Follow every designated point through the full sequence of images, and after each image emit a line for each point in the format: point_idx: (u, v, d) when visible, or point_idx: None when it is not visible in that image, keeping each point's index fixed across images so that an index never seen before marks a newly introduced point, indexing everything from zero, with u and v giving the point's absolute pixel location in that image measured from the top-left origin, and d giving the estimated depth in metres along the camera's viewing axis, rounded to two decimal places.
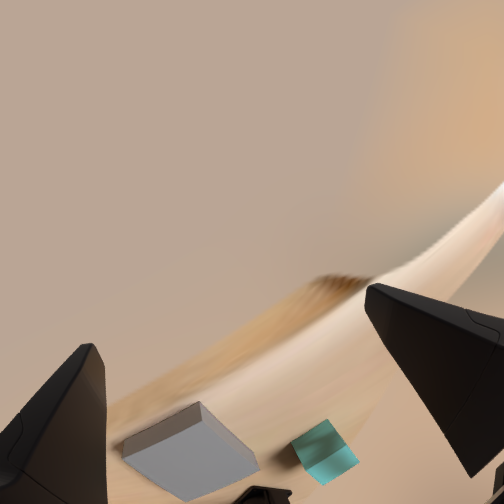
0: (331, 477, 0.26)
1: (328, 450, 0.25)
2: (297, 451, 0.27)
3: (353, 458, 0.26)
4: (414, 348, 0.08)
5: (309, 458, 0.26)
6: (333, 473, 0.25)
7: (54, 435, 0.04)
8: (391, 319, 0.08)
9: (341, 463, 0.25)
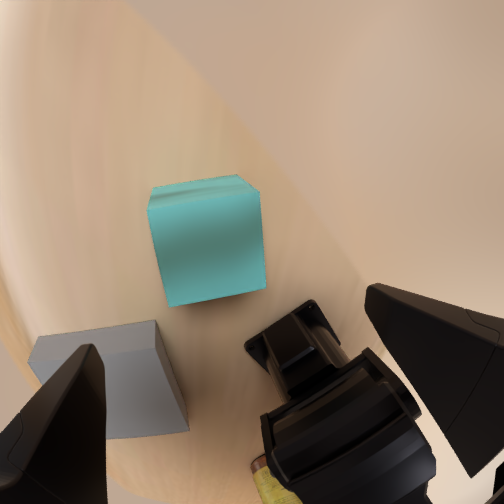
0: (250, 266, 0.15)
1: None
2: None
3: (224, 204, 0.13)
4: (414, 348, 0.08)
5: None
6: (236, 259, 0.14)
7: (54, 435, 0.04)
8: (391, 319, 0.08)
9: (214, 235, 0.14)
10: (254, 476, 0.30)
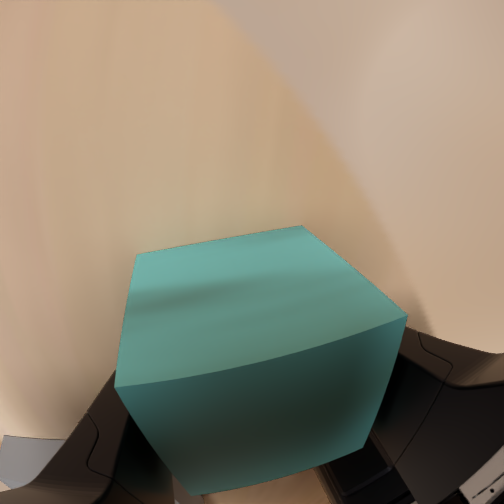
0: (348, 434, 0.06)
1: None
2: None
3: (329, 357, 0.05)
4: None
5: None
6: (327, 433, 0.06)
7: (134, 433, 0.05)
8: None
9: (292, 413, 0.05)
10: None
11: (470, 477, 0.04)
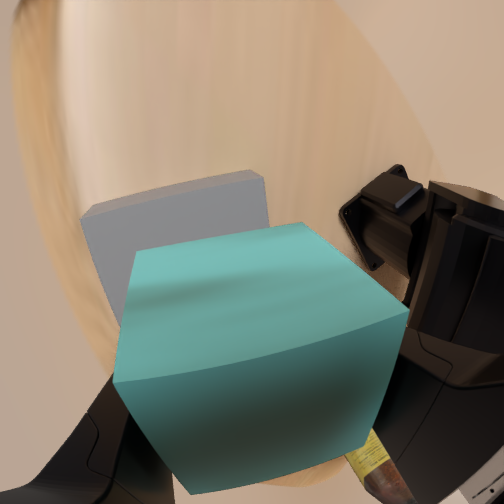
0: (349, 432, 0.06)
1: None
2: None
3: (330, 353, 0.05)
4: None
5: None
6: (329, 431, 0.06)
7: (135, 433, 0.05)
8: None
9: (293, 410, 0.05)
10: None
11: (470, 477, 0.04)
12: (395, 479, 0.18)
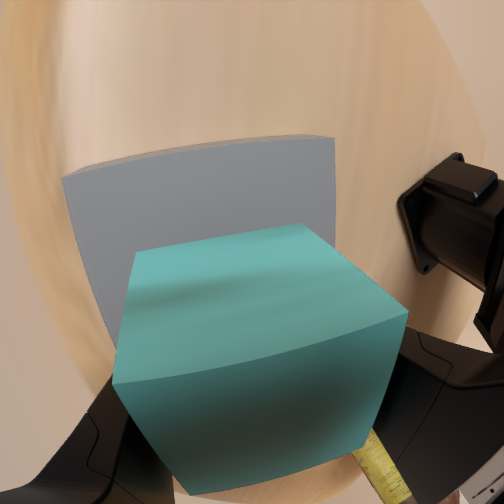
0: (349, 433, 0.06)
1: None
2: None
3: (329, 354, 0.05)
4: None
5: None
6: (328, 432, 0.06)
7: (135, 433, 0.05)
8: None
9: (292, 411, 0.05)
10: None
11: (470, 477, 0.04)
12: None
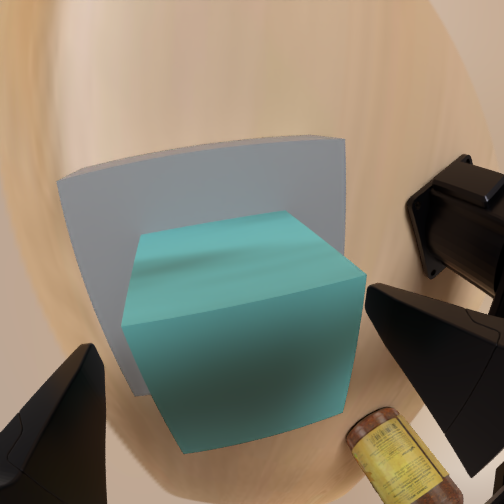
0: (326, 393, 0.07)
1: None
2: None
3: (297, 306, 0.06)
4: (415, 348, 0.08)
5: None
6: (305, 389, 0.07)
7: (53, 435, 0.04)
8: (391, 319, 0.08)
9: (269, 361, 0.06)
10: (357, 447, 0.22)
11: None
12: None
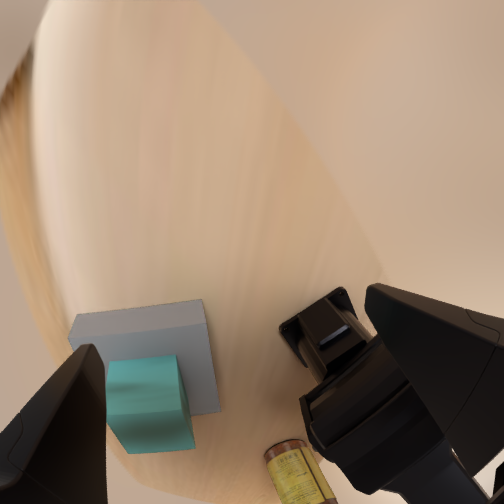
0: (181, 440, 0.17)
1: None
2: None
3: (156, 415, 0.15)
4: (414, 348, 0.08)
5: None
6: (170, 437, 0.16)
7: (54, 435, 0.04)
8: (391, 319, 0.08)
9: (152, 427, 0.16)
10: (269, 464, 0.31)
11: None
12: None
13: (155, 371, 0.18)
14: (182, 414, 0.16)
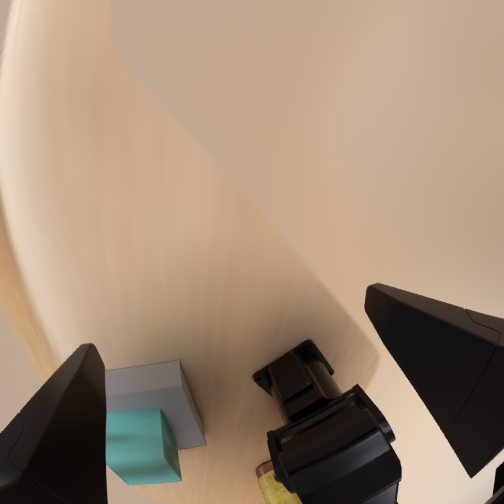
0: (168, 476, 0.18)
1: None
2: None
3: (145, 461, 0.17)
4: (414, 348, 0.08)
5: None
6: (160, 474, 0.18)
7: (54, 435, 0.04)
8: (391, 319, 0.08)
9: (143, 468, 0.17)
10: (259, 480, 0.33)
11: None
12: None
13: (143, 423, 0.20)
14: (165, 460, 0.17)
